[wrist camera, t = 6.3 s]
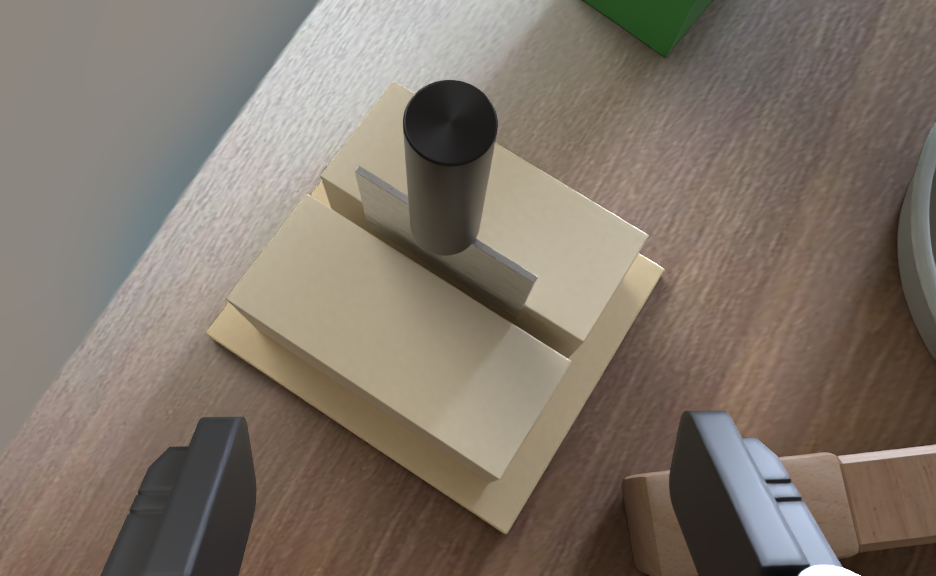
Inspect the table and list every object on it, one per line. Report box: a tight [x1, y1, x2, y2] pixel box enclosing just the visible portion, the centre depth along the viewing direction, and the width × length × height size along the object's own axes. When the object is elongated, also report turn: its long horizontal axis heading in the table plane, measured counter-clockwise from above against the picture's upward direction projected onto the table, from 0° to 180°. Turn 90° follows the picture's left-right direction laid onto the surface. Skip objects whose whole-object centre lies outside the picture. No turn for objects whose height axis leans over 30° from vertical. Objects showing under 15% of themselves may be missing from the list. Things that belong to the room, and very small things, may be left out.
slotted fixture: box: [206, 81, 664, 534], centre depth 37 cm, size 18×16×7 cm
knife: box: [355, 80, 538, 320], centre depth 28 cm, size 8×3×14 cm, turn 57°
